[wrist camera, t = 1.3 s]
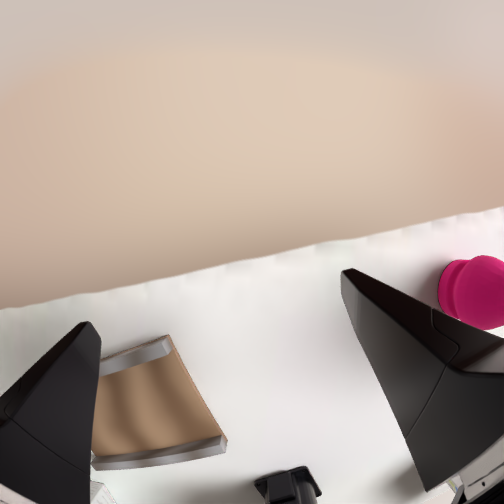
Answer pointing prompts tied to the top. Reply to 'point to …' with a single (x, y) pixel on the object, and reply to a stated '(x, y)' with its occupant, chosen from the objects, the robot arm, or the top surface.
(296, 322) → the top surface
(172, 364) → the track board
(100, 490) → the supplement box
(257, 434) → the top surface
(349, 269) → the robot arm
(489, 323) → the pepper mill
